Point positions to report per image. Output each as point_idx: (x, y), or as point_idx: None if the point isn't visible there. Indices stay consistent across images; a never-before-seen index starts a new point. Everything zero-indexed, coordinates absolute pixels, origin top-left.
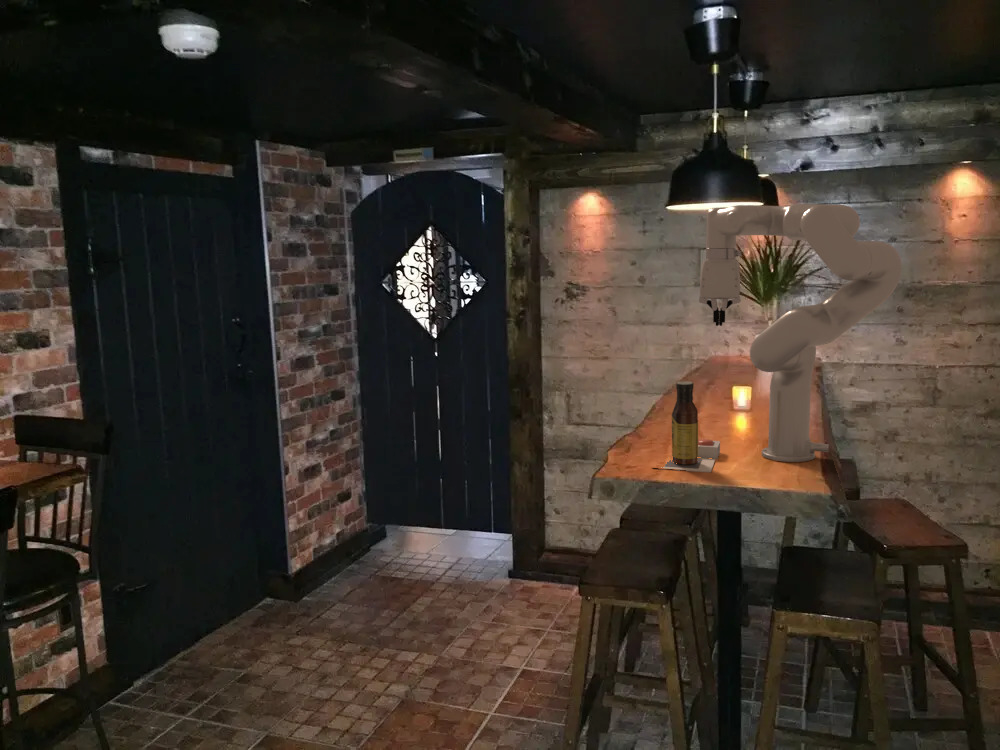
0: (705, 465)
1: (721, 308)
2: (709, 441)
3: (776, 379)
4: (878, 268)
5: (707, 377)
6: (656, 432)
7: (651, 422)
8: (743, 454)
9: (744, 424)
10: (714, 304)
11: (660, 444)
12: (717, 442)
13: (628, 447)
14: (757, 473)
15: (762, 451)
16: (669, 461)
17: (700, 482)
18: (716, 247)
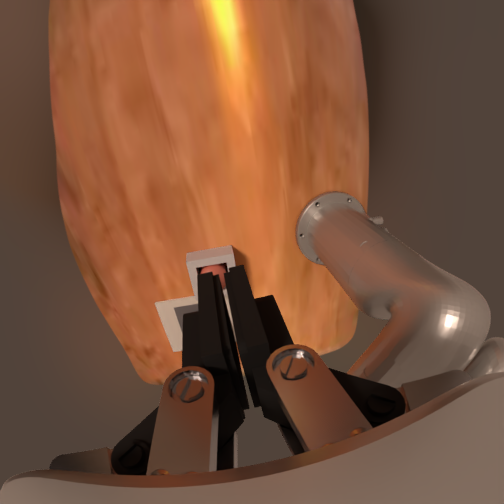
0: (231, 322)
1: (273, 415)
2: (222, 280)
3: (373, 313)
4: None
5: None
6: (82, 143)
7: (52, 68)
8: (268, 240)
9: (229, 4)
10: (219, 466)
11: (123, 230)
12: (231, 264)
13: (92, 269)
14: (296, 320)
15: (298, 243)
16: (182, 325)
17: (242, 369)
18: None
